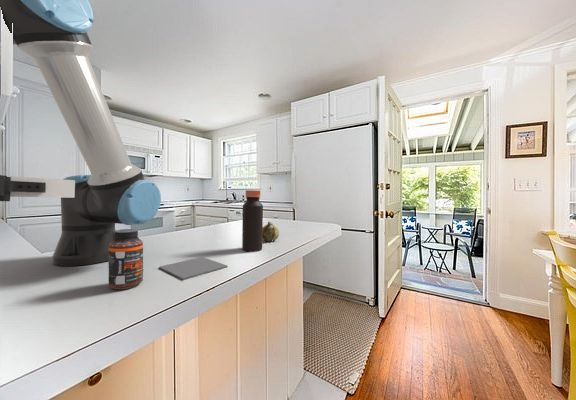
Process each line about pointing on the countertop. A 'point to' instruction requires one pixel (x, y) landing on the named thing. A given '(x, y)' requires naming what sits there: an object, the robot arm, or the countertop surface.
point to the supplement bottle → (125, 259)
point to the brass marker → (126, 288)
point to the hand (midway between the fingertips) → (62, 189)
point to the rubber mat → (192, 267)
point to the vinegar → (252, 222)
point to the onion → (270, 232)
